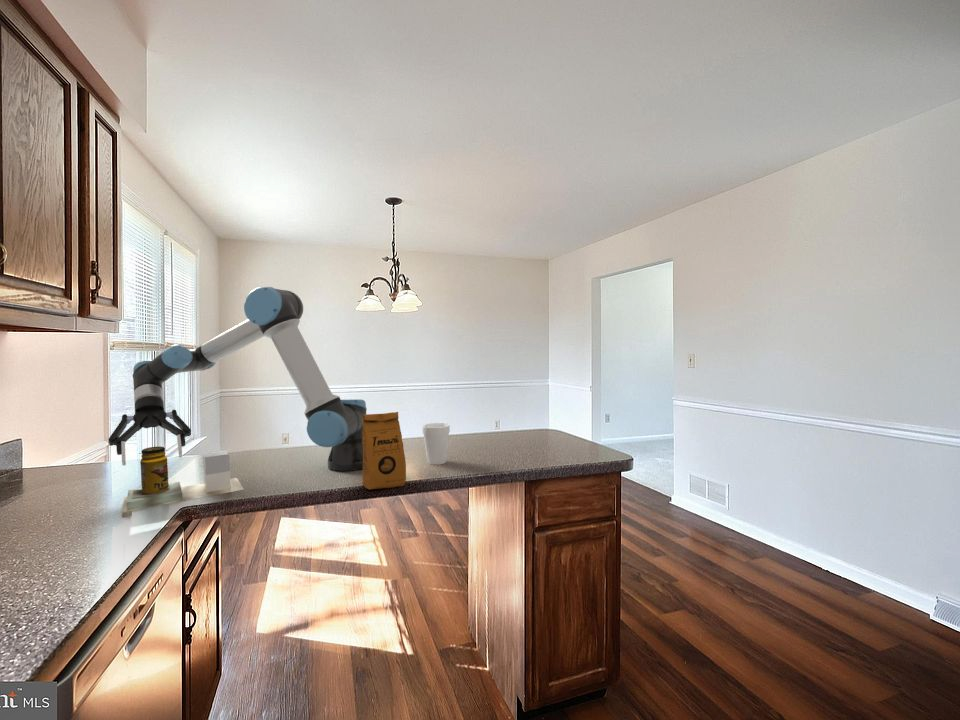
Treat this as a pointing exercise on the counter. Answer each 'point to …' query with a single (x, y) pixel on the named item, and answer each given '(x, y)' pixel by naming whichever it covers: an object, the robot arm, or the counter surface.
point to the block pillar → (216, 470)
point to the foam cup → (436, 442)
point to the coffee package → (383, 451)
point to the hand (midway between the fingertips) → (153, 458)
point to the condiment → (153, 473)
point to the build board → (192, 494)
